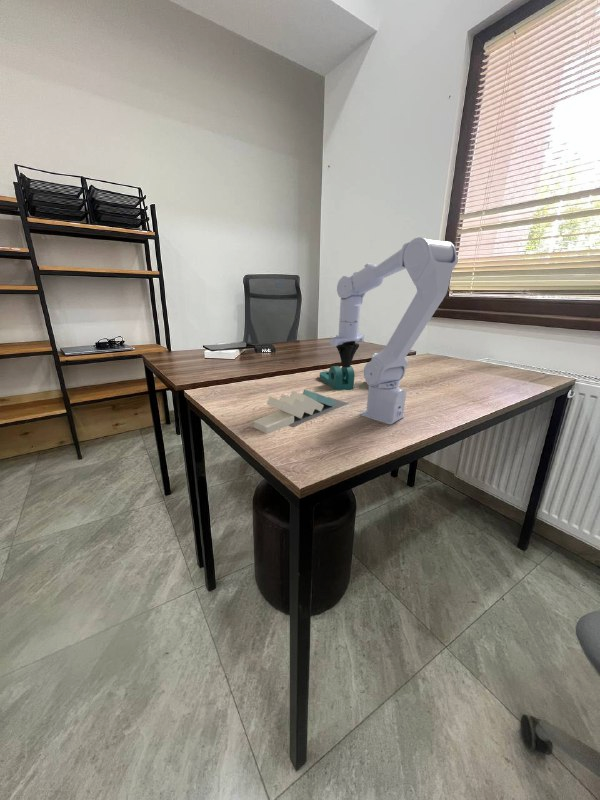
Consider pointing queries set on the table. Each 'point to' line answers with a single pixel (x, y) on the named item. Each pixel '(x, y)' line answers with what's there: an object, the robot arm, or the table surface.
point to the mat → (318, 412)
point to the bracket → (339, 377)
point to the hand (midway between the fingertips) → (345, 366)
